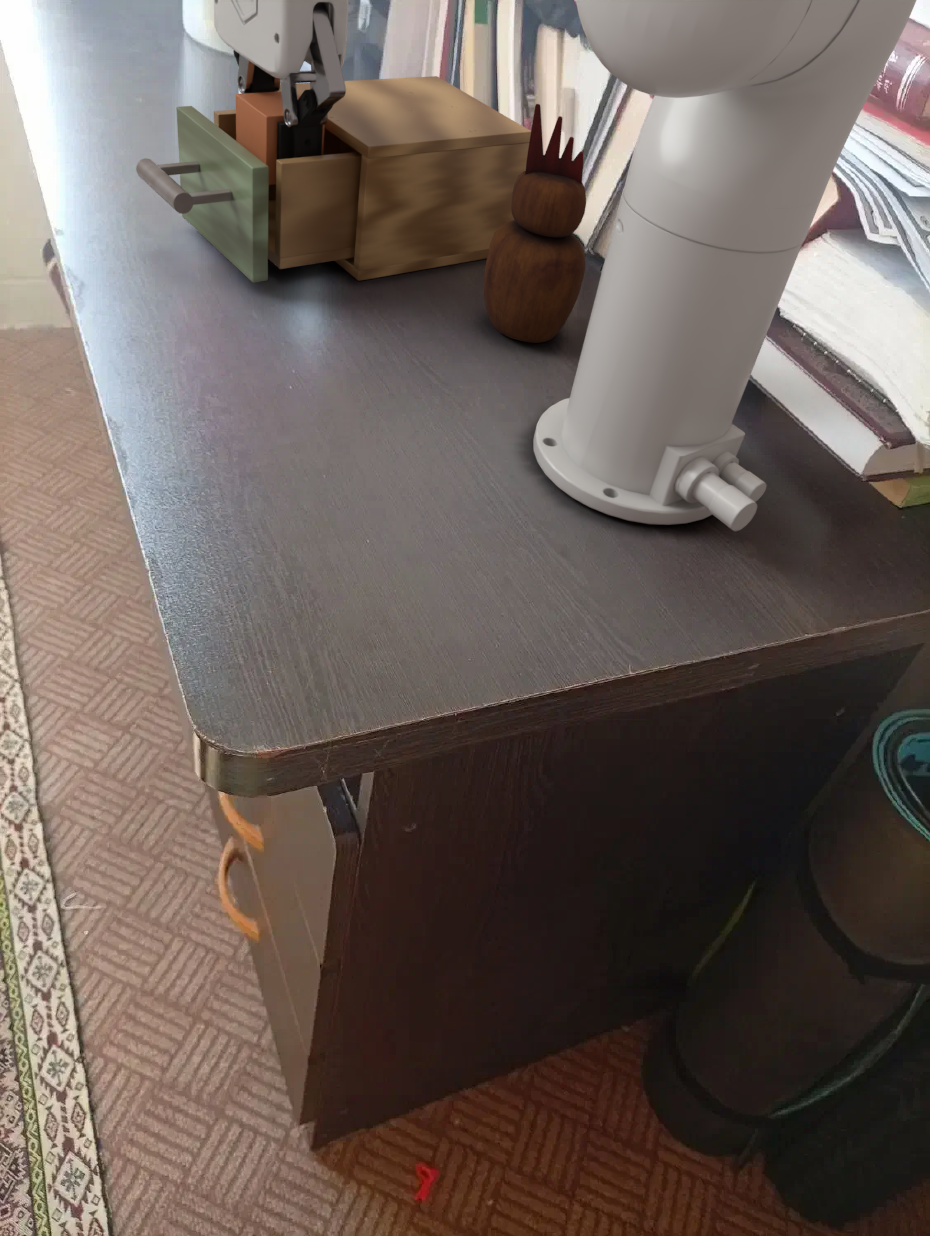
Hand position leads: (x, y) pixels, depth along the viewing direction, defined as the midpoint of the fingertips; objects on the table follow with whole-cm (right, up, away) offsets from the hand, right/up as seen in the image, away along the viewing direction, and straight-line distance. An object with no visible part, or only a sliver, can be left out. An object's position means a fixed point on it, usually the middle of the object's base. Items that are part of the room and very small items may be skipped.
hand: (280, 165), depth 70 cm
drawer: (-1, -4, +3) cm, 5 cm away
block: (0, 0, 0) cm, 0 cm away
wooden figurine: (+17, -12, +1) cm, 21 cm away
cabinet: (+7, -1, +10) cm, 12 cm away
